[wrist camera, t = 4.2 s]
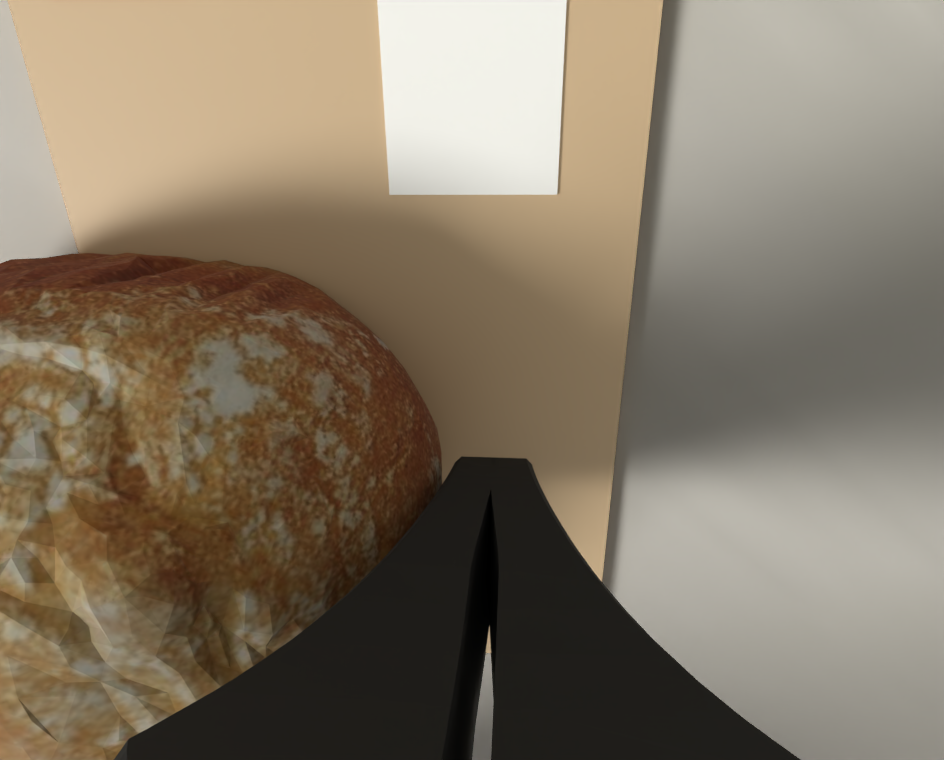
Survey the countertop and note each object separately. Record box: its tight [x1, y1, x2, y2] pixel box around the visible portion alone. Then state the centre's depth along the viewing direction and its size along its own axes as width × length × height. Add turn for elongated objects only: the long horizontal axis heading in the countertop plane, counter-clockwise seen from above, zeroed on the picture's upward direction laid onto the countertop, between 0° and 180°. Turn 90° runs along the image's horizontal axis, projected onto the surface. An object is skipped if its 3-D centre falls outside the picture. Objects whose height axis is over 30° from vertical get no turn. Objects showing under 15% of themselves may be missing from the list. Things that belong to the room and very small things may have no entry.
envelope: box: [8, 0, 663, 653], centre depth 11 cm, size 16×10×1 cm, turn 0°
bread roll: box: [0, 253, 442, 760], centre depth 11 cm, size 10×10×8 cm
